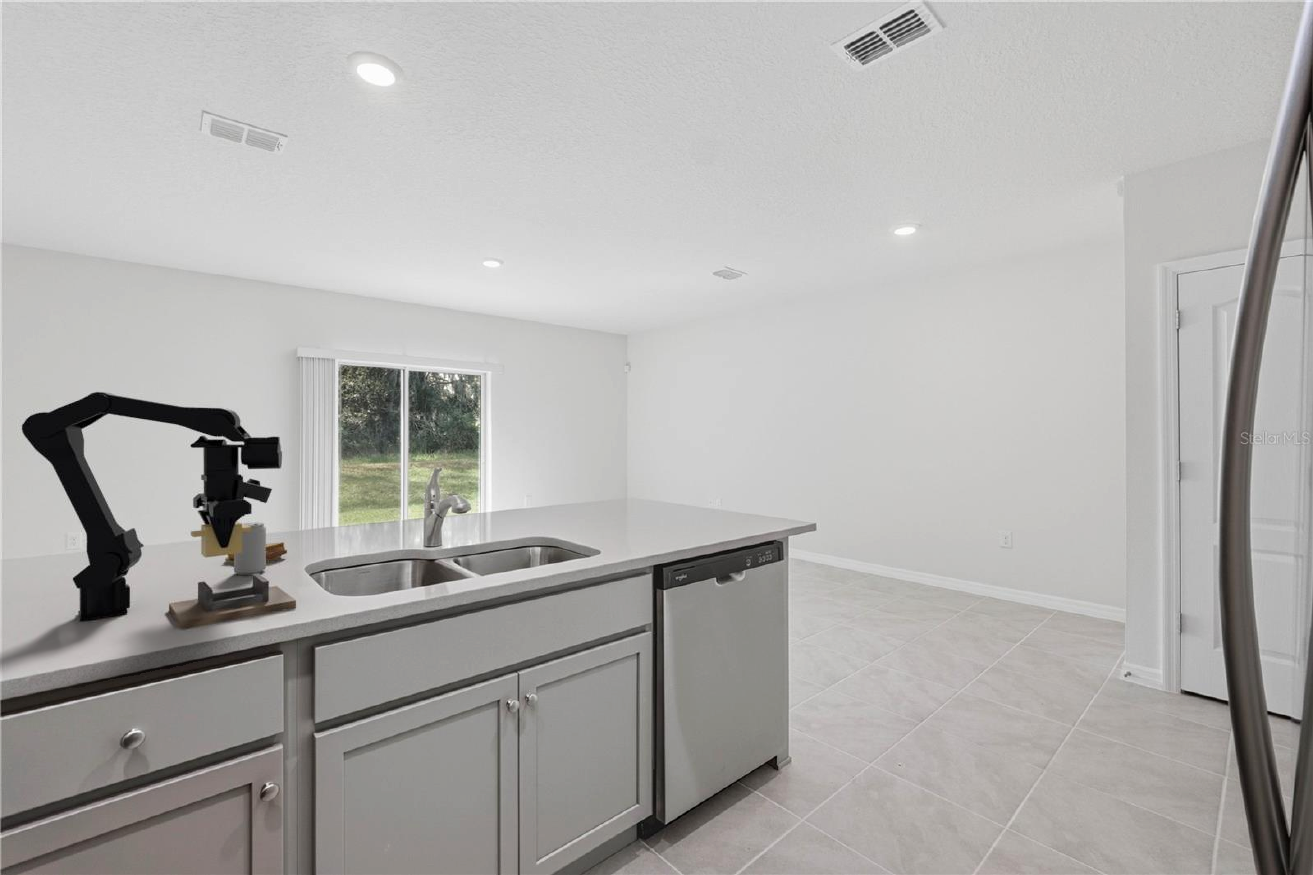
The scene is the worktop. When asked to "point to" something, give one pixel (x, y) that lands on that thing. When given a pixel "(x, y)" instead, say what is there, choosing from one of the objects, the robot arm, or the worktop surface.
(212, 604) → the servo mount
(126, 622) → the worktop surface
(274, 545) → the toy sandwich meal
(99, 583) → the robot arm
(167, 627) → the worktop surface
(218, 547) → the block
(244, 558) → the beverage can
